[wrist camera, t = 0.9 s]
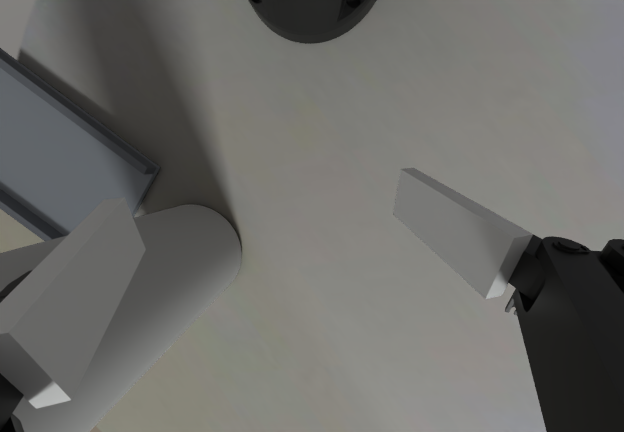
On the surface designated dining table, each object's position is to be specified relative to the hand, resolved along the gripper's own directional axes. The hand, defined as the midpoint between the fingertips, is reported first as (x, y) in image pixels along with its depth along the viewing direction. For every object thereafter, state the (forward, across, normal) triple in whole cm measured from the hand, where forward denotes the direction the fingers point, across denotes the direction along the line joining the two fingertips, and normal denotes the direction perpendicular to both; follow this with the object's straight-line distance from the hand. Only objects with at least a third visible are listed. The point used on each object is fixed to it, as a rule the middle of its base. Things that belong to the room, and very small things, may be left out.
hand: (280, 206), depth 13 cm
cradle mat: (+31, -28, -4) cm, 42 cm away
